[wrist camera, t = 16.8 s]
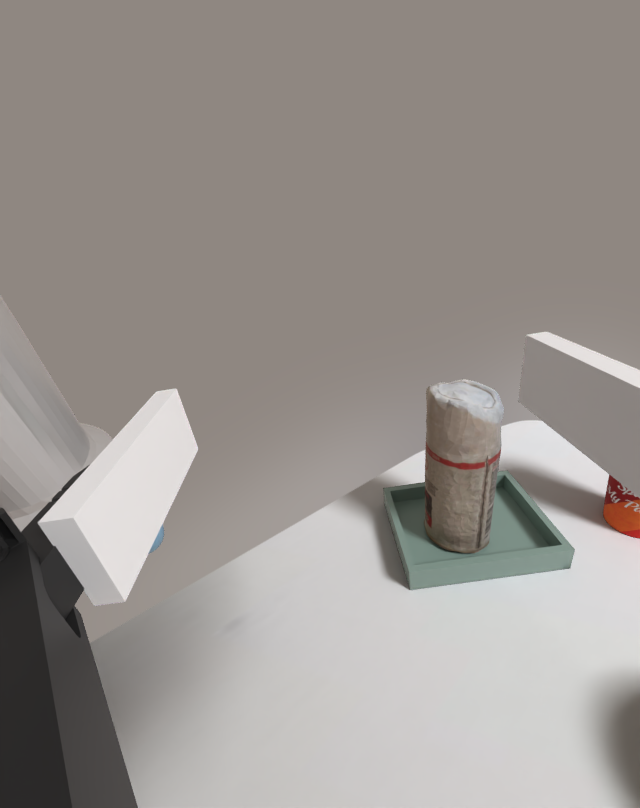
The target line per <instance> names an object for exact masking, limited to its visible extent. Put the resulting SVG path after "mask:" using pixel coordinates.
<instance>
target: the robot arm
mask: <svg viewBox="0 0 640 808" xmlns="http://www.w3.org/2000/svg"><path fill="white" fill-rule="evenodd" d="M518 402H519V403H521V404H522V405H523V406H524V407H526V408H527V409H528V410H529V411H531V412H532V413H533V414H534V415H536V416H537V417H538V418H539V419H541V420H542V421H543V422H544V423H546V424H547V425H548V426H549V427H551V428H552V429H553V430H555V431H556V432H557V433H558V434H560V435H561V436H562V437H563V438H565V439H566V440H567V441H568V442H570V443H571V444H572V445H573V446H575V447H576V448H577V449H578V450H580V451H581V452H582V453H583V454H585V455H586V456H587V457H588V458H590V459H591V460H592V461H593V462H595V463H596V464H597V465H598V466H600V467H601V468H602V469H603V470H605V471H606V472H607V473H608V474H610V475H611V476H612V477H613V478H615V479H616V480H617V481H619V482H620V483H621V484H622V485H624V486H625V487H626V488H627V489H629V490H630V491H631V492H632V493H634V494H635V495H636V496H637V497H639V498H640V370H638V369H636V368H633V367H631V366H628V365H626V364H623V363H621V362H619V361H616V360H614V359H612V358H609V357H607V356H604V355H602V354H600V353H597V352H595V351H592V350H590V349H587V348H585V347H583V346H580V345H578V344H575V343H573V342H571V341H568V340H566V339H564V338H561V337H558V336H556V335H554V334H551V333H549V332H542V333H535V334H529V335H526V340H525V348H524V357H523V365H522V373H521V382H520V391H519V398H518ZM197 451H198V447H197V444H196V441H195V439H194V436H193V433H192V431H191V427H190V425H189V422H188V419H187V417H186V414H185V411H184V408H183V406H182V403H181V400H180V397H179V394H178V392H177V389H170V390H164V391H157V392H156V393H155V394H154V395H153V396H152V397H151V398H150V399H149V400H148V402H147V403H146V404H145V405H144V406H143V407H142V408H141V409H140V410H139V411H138V413H137V414H136V415H135V416H134V417H133V418H132V420H131V421H129V423H128V424H127V425H126V426H125V427H124V428H123V429H122V430H121V431H120V432H119V434H118V435H117V436H116V437H115V438H114V439H112V438H111V437H110V436H109V435H108V434H107V433H106V432H105V431H103V430H102V429H100V428H98V427H95V426H92V425H89V424H83V423H79V422H78V420H77V418H76V417H75V415H74V414H73V412H72V410H71V409H70V407H69V405H68V404H67V402H66V400H65V399H64V397H63V396H62V394H61V392H60V391H59V389H58V387H57V386H56V384H55V382H54V381H53V379H52V378H51V376H50V374H49V373H48V371H47V369H46V368H45V366H44V365H43V363H42V361H41V360H40V358H39V357H38V355H37V353H36V352H35V350H34V348H33V347H32V345H31V344H30V342H29V340H28V339H27V337H26V335H25V334H24V332H23V331H22V329H21V327H20V326H19V324H18V322H17V321H16V319H15V317H14V316H13V314H12V313H11V311H10V309H9V308H8V306H7V304H6V303H5V301H4V300H3V298H2V296H1V295H0V808H138V807H137V803H136V800H135V796H134V793H133V790H132V786H131V783H130V779H129V776H128V773H127V769H126V766H125V763H124V759H123V756H122V752H121V749H120V746H119V742H118V739H117V735H116V732H115V729H114V725H113V722H112V718H111V715H110V712H109V708H108V705H107V701H106V698H105V695H104V691H103V688H102V685H101V681H100V678H99V674H98V671H97V668H96V664H95V661H94V657H93V654H92V651H91V647H90V644H89V641H88V637H87V634H86V630H85V627H84V623H83V620H82V617H81V614H80V613H79V611H78V610H77V609H76V607H75V606H74V605H75V603H76V602H77V600H78V598H79V597H80V595H81V594H82V592H83V590H84V591H85V593H86V594H87V596H88V597H89V599H90V600H91V602H92V603H93V605H94V606H99V605H106V604H113V603H121V602H125V601H126V599H127V597H128V595H129V593H130V591H131V589H132V587H133V585H134V582H135V580H136V578H137V576H138V574H139V572H140V570H141V568H142V566H143V563H144V562H145V559H146V557H147V555H148V554H149V553H151V552H153V551H154V550H156V549H157V548H158V547H159V545H160V544H161V542H162V540H163V537H164V528H163V522H164V520H165V518H166V516H167V513H168V511H169V509H170V507H171V505H172V503H173V501H174V499H175V497H176V494H177V493H178V490H179V488H180V486H181V484H182V482H183V480H184V478H185V476H186V474H187V472H188V470H189V467H190V465H191V463H192V461H193V459H194V457H195V455H196V453H197Z"/></svg>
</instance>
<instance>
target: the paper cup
mask: <svg viewBox="0 0 640 808" xmlns="http://www.w3.org/2000/svg"><path fill="white" fill-rule="evenodd" d="M603 516H604V519H605V520H606V522H607V523H608V524H609V525H610V526H611V527H613V528H614V529H616V530H617V531H619V532H621V533H623V534H625V535H628V536H631V537H635V538H640V498H639V497H637V496H636V495H635V494H634V493H632V492H631V491H630V490H629V489H627V488H626V487H625V486H624V485H622V484H621V483H620V482H619V481H617V480H616V479H615V478H613V477H612V476H611V475H610V474H609V480H608V485H607V491H606V497H605V503H604V510H603Z"/></svg>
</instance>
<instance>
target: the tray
mask: <svg viewBox="0 0 640 808" xmlns="http://www.w3.org/2000/svg"><path fill="white" fill-rule="evenodd" d="M383 491H384V503H385V507H386V510H387V514H388V517H389V521H390V524H391V527H392V531H393V534H394V537H395V541H396V544H397V547H398V551H399V554H400V557H401V561H402V564H403V568H404V571H405V574H406V578H407V581H408V584H409V588H410V590H414V589H422V588H429V587H436V586H444V585H451V584H459V583H466V582H473V581H481V580H488V579H495V578H503V577H510V576H518V575H525V574H532V573H540V572H547V571H554V570H562V569H569V568H570V567H571V563H572V559H573V555H574V551H575V549H574V548H573V547H572V546H571V545H570V543H569V542H568V541H567V540H566V539H565V538H564V536H563V535H562V534H561V533H560V532H559V530H558V529H557V528H556V527H555V526H554V525H553V523H552V522H551V521H550V520H549V519H548V518H547V516H546V515H545V514H544V513H543V512H542V510H541V509H540V508H539V507H538V506H537V505H536V503H535V502H534V501H533V500H532V499H531V498H530V496H529V495H528V494H527V493H526V492H525V490H524V489H523V488H522V487H521V486H520V485H519V483H518V482H517V481H516V480H515V479H514V478H513V476H512V475H511V474H510V473H509V472H508V470H507V471H500V472H498V473H497V481H496V489H495V498H494V505H493V513H492V520H491V531H490V540H489V544H488V545H487V546H486V547H485V548H483V549H482V550H480V551H479V552H476V553H461V552H456V551H450V550H446V549H444V548H442V547H440V546H439V545H437V544H435V543H434V542H433V541H432V540H431V539H430V538H429V537H428V535H427V534H426V529H425V526H424V520H425V482H423V483H416V484H409V485H402V486H395V487H388V488H383Z"/></svg>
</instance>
